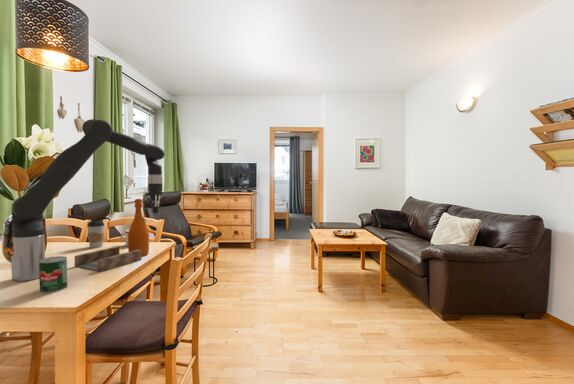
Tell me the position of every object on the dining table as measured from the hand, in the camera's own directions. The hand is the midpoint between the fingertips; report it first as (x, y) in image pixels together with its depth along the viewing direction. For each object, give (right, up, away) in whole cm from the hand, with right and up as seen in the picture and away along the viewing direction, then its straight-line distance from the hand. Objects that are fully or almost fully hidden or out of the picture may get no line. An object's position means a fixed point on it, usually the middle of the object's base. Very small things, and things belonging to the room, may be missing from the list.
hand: (155, 213), depth 156 cm
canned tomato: (-11, -24, -55) cm, 61 cm away
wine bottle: (-4, -22, -9) cm, 24 cm away
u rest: (-11, -22, -24) cm, 34 cm away
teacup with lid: (-21, -21, +13) cm, 32 cm away
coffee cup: (-39, -21, +7) cm, 45 cm away
